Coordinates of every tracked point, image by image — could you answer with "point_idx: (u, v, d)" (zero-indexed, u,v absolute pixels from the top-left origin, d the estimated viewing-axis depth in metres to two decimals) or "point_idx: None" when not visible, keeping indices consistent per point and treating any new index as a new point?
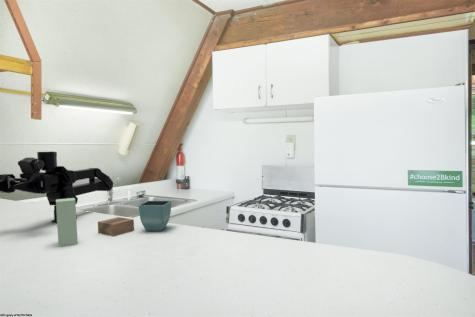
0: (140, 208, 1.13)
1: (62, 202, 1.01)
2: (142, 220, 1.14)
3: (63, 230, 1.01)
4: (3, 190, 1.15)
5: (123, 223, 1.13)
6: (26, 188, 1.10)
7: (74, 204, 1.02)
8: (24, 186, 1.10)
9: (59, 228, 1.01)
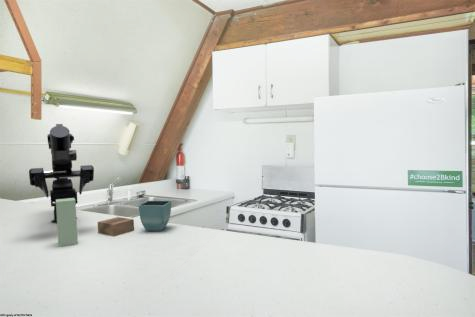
0: (140, 208, 1.13)
1: (62, 202, 1.01)
2: (142, 220, 1.14)
3: (62, 230, 1.01)
4: None
5: (123, 223, 1.13)
6: (83, 187, 1.15)
7: (74, 204, 1.02)
8: (83, 186, 1.14)
9: (59, 228, 1.01)
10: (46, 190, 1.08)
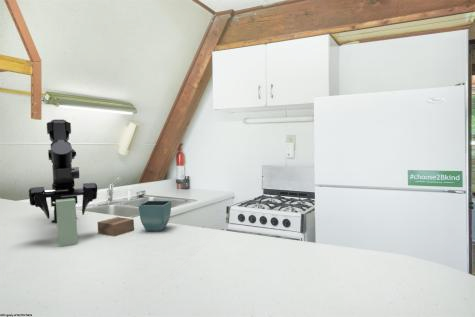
0: (140, 208, 1.13)
1: (62, 202, 1.01)
2: (142, 220, 1.14)
3: (63, 230, 1.01)
4: None
5: (124, 223, 1.13)
6: (86, 206, 1.09)
7: (74, 204, 1.02)
8: (86, 205, 1.08)
9: (59, 228, 1.01)
10: (47, 211, 1.02)
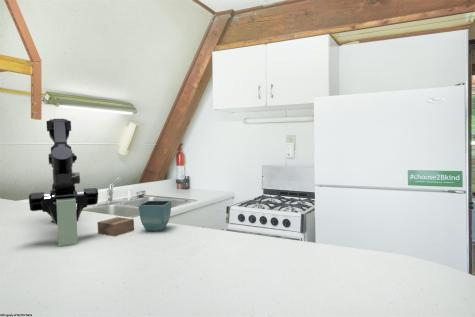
0: (140, 208, 1.13)
1: (62, 202, 1.01)
2: (142, 220, 1.14)
3: (63, 229, 1.01)
4: None
5: (124, 223, 1.13)
6: (80, 212, 1.07)
7: (74, 204, 1.02)
8: (80, 212, 1.06)
9: (59, 228, 1.01)
10: (54, 216, 1.01)
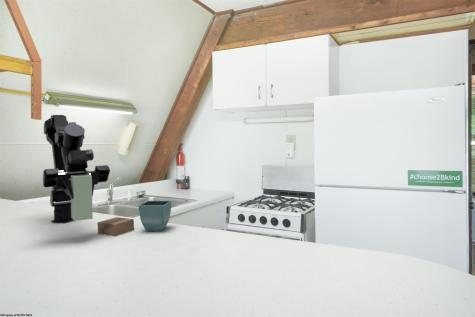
0: (140, 208, 1.13)
1: (79, 177, 1.03)
2: (142, 220, 1.14)
3: (79, 204, 1.03)
4: None
5: (124, 223, 1.14)
6: None
7: (90, 180, 1.05)
8: None
9: (76, 202, 1.03)
10: (71, 191, 1.04)
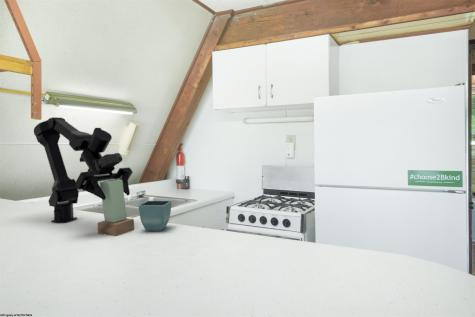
0: (140, 208, 1.13)
1: (113, 182, 1.12)
2: (142, 220, 1.14)
3: (115, 207, 1.13)
4: None
5: (125, 223, 1.14)
6: None
7: (121, 183, 1.15)
8: None
9: (113, 206, 1.12)
10: (102, 192, 1.11)
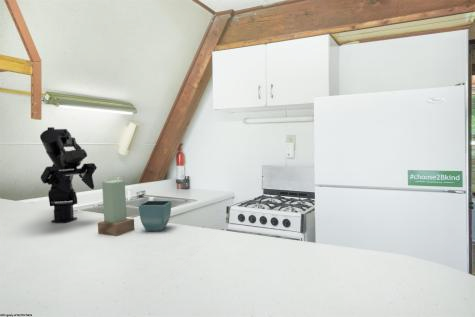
0: (140, 208, 1.13)
1: (115, 183, 1.12)
2: (142, 220, 1.14)
3: (116, 208, 1.13)
4: None
5: (125, 223, 1.14)
6: None
7: (124, 184, 1.15)
8: None
9: (114, 206, 1.12)
10: (67, 186, 1.17)
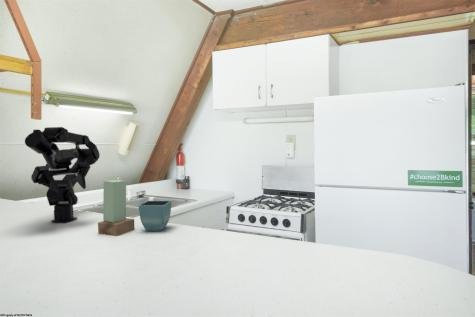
0: (140, 208, 1.13)
1: (117, 182, 1.13)
2: (142, 220, 1.14)
3: (116, 207, 1.13)
4: None
5: (125, 223, 1.14)
6: None
7: (125, 184, 1.16)
8: None
9: (114, 206, 1.12)
10: (57, 186, 1.16)
